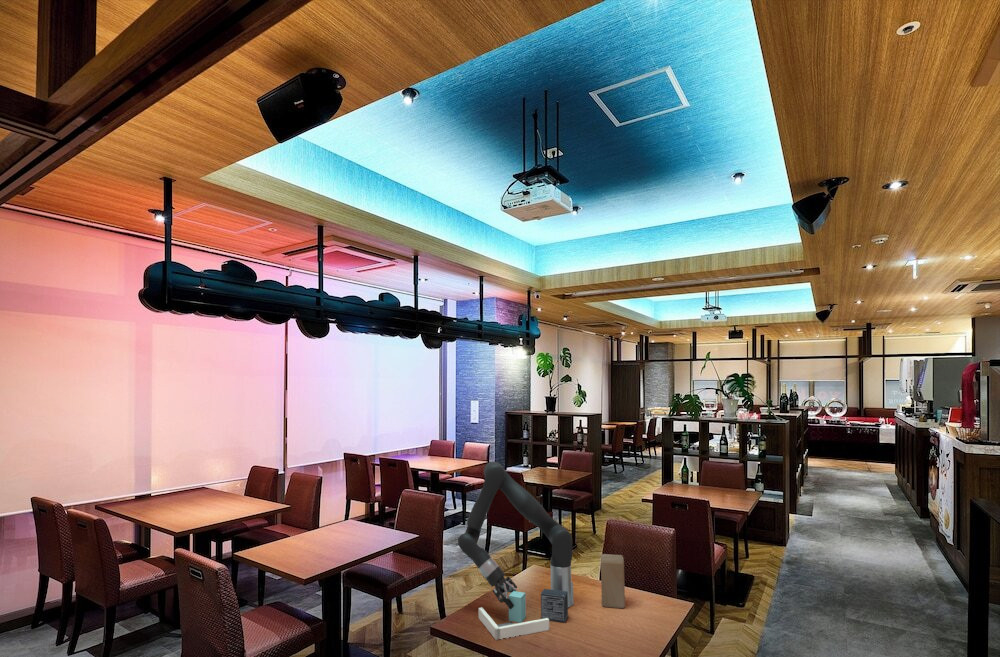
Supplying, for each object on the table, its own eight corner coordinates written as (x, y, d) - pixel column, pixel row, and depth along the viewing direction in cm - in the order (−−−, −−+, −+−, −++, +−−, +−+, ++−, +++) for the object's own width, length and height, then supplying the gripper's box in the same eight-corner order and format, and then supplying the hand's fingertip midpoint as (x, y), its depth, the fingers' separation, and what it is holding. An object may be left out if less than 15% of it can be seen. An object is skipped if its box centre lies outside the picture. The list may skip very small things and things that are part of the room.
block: (625, 609, 231) (623, 561, 233) (601, 607, 233) (600, 560, 235) (624, 600, 241) (623, 554, 243) (602, 598, 243) (601, 553, 245)
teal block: (513, 615, 226) (513, 590, 227) (525, 617, 224) (525, 592, 225) (508, 620, 221) (508, 595, 222) (521, 623, 219) (520, 597, 220)
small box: (568, 616, 224) (568, 590, 225) (565, 623, 218) (565, 596, 219) (544, 613, 228) (544, 587, 229) (540, 619, 222) (540, 593, 223)
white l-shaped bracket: (527, 609, 232) (527, 599, 232) (549, 630, 212) (549, 619, 213) (478, 617, 223) (478, 608, 224) (496, 640, 204) (496, 629, 204)
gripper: (490, 571, 221) (516, 604, 216) (503, 561, 234) (528, 592, 229) (478, 583, 223) (504, 616, 217) (492, 571, 236) (516, 602, 230)
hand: (516, 603), depth 223 cm, fingers open, 8 cm apart
